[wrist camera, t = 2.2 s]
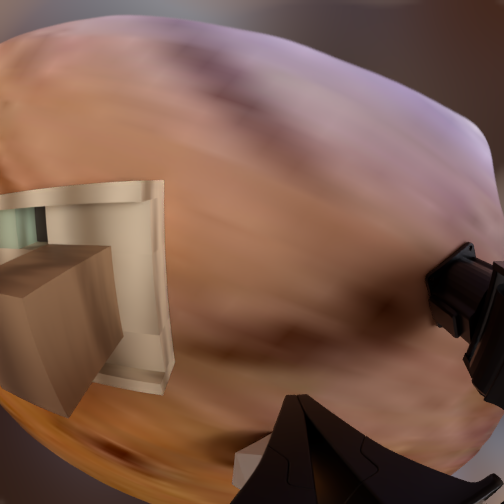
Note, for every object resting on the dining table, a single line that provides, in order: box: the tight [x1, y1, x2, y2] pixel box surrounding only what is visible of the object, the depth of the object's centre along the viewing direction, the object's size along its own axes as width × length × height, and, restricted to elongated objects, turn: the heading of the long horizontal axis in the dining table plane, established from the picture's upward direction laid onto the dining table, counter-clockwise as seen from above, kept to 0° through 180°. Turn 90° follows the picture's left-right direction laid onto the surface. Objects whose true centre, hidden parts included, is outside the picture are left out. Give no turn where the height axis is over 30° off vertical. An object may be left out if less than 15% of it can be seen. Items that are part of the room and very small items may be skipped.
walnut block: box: [0, 244, 124, 418], centre depth 13 cm, size 6×7×9 cm
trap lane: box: [0, 180, 175, 395], centre depth 17 cm, size 24×15×6 cm, turn 88°
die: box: [232, 433, 272, 490], centre depth 22 cm, size 8×9×10 cm
